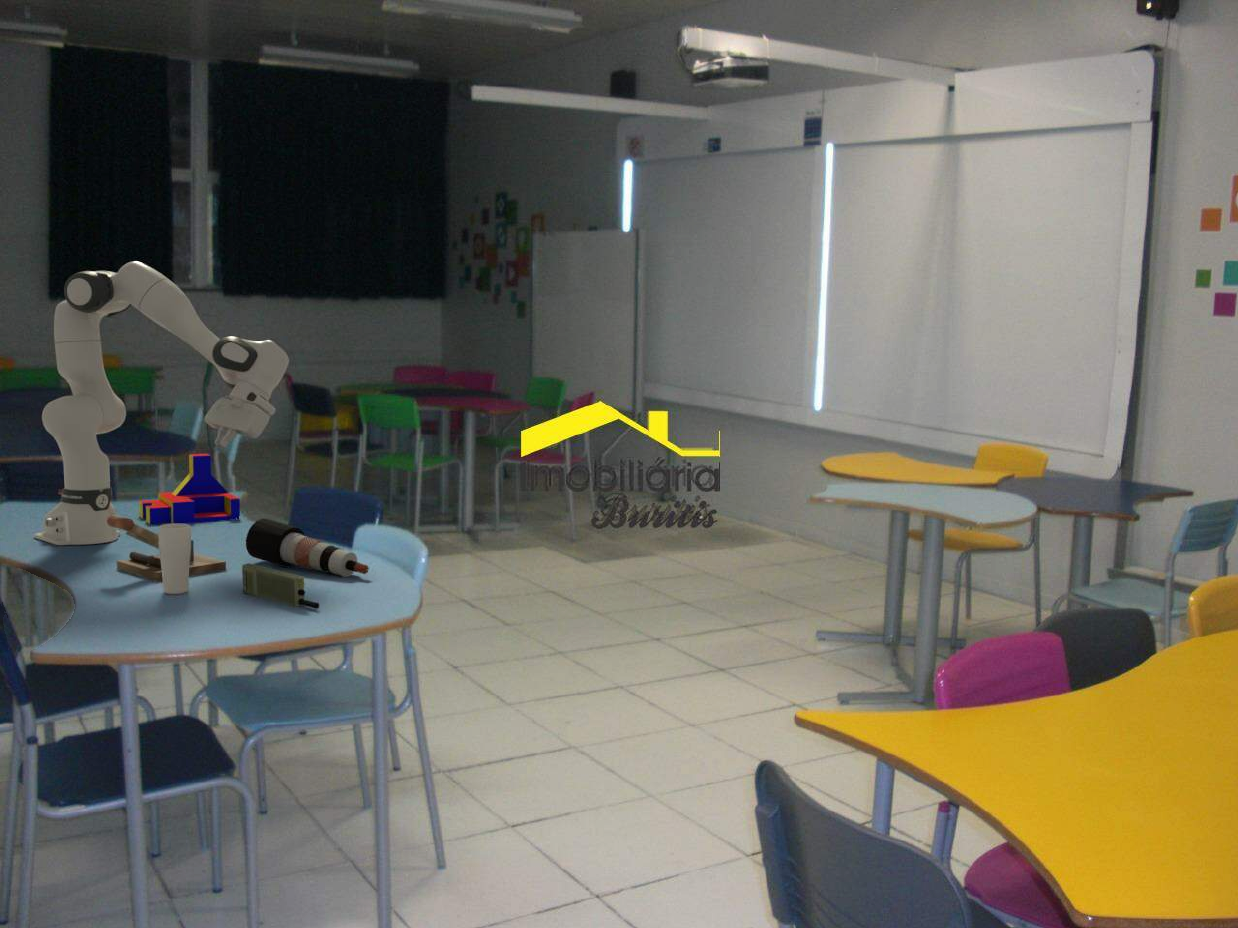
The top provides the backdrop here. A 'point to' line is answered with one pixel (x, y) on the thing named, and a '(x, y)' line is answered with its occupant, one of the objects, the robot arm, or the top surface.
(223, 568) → the cutter board
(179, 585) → the drinking glass
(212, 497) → the building blocks toy
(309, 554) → the cable
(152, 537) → the cutter lever
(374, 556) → the top surface
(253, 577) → the handheld radio
